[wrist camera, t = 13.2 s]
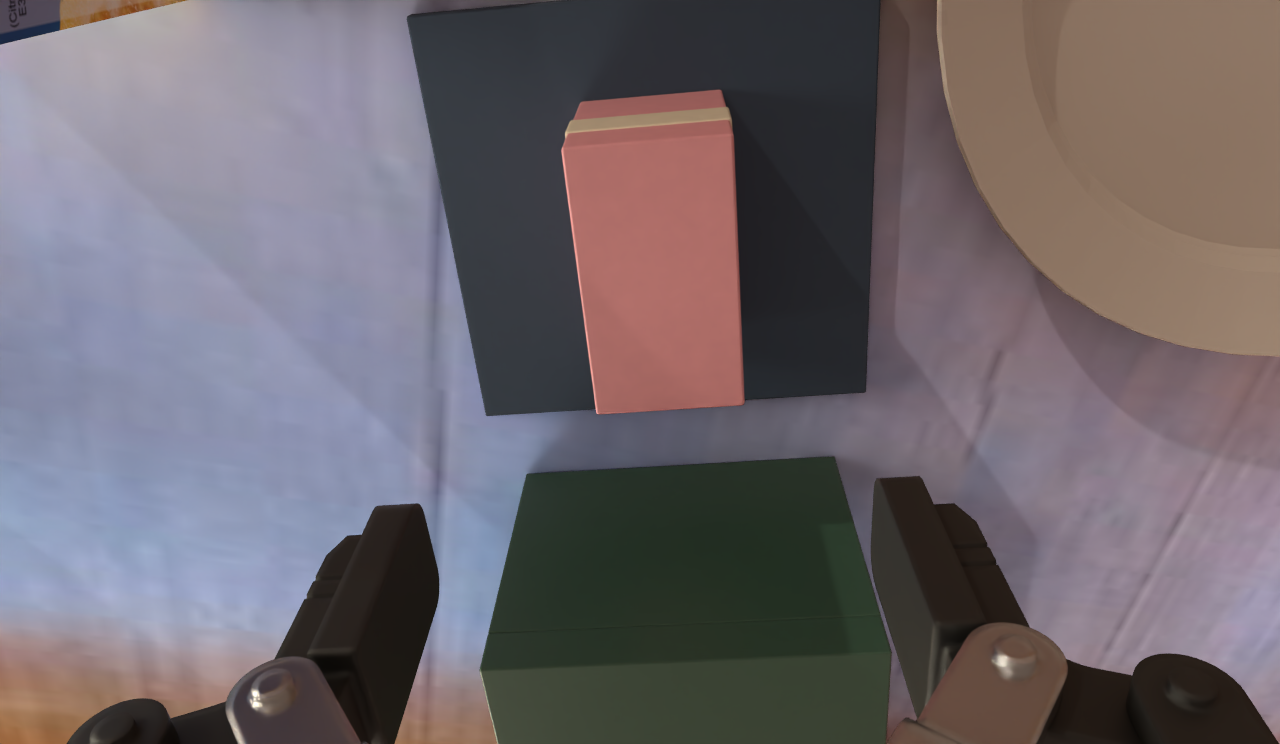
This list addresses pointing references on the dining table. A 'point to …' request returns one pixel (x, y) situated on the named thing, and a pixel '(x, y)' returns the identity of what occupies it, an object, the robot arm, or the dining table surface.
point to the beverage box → (62, 14)
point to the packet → (657, 250)
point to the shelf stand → (687, 610)
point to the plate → (1130, 154)
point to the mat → (764, 170)
